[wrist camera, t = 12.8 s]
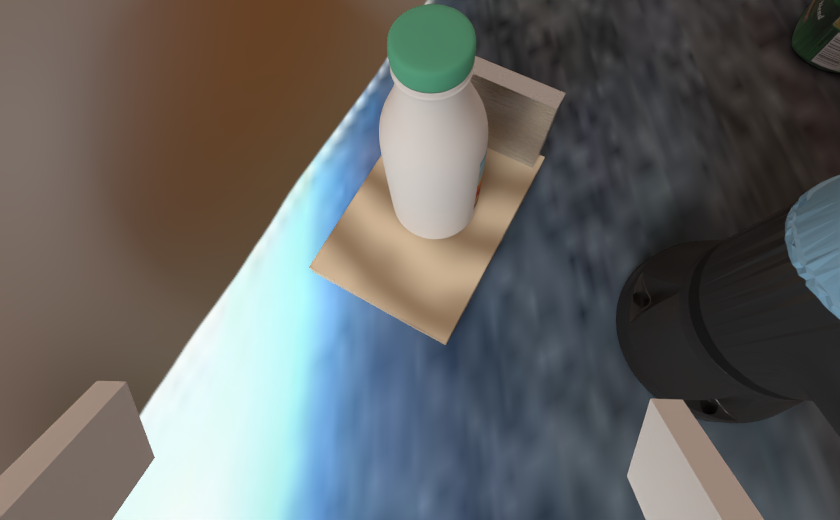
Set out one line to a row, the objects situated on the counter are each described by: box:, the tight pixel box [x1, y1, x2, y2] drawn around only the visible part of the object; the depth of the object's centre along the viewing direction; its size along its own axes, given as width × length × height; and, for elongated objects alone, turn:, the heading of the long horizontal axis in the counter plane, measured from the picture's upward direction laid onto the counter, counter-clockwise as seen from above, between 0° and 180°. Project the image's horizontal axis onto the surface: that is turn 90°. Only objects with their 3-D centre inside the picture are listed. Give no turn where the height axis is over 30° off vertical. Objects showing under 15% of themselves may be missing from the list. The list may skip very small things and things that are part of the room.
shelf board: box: [309, 148, 545, 345], centre depth 42 cm, size 20×14×2 cm
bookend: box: [470, 56, 566, 168], centre depth 39 cm, size 2×13×9 cm, turn 61°
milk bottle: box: [379, 4, 488, 239], centre depth 32 cm, size 8×8×20 cm
